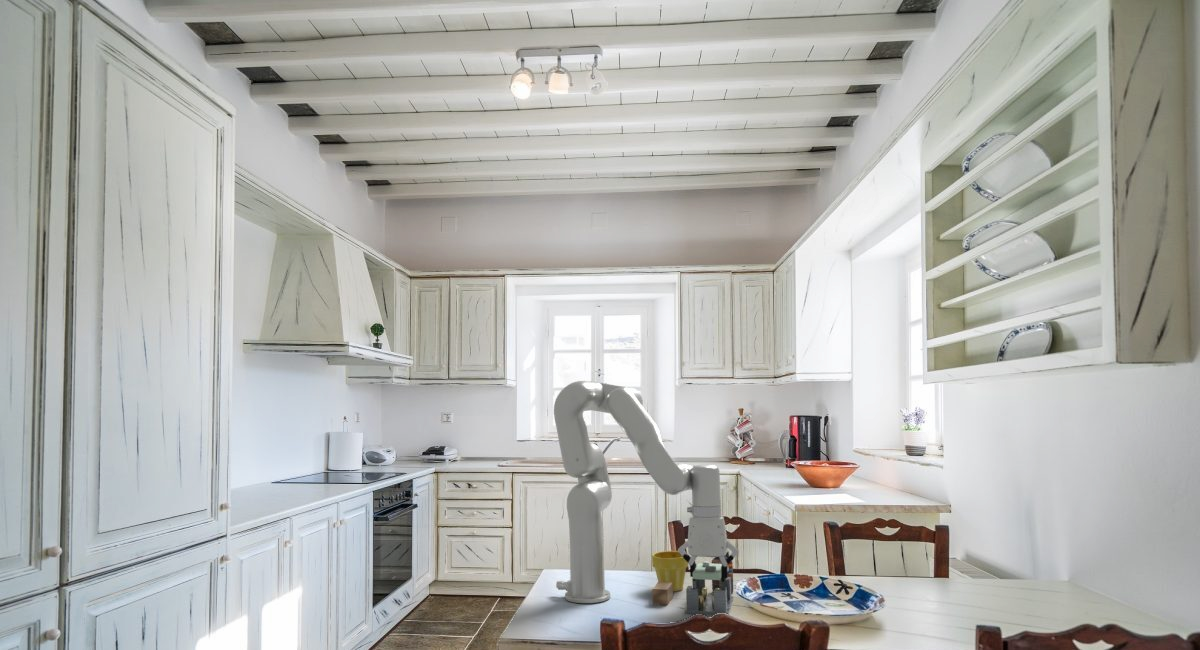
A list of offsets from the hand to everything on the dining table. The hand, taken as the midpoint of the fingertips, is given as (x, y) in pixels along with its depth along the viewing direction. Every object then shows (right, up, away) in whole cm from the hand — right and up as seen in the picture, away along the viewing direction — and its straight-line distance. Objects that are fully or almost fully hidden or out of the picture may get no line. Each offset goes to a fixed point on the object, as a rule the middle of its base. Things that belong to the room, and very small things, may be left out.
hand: (709, 579), depth 203 cm
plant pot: (-8, -9, +18) cm, 22 cm away
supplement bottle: (+6, -8, +13) cm, 17 cm away
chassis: (0, -7, -1) cm, 7 cm away
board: (0, +1, 0) cm, 1 cm away
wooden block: (-12, -8, +6) cm, 15 cm away
